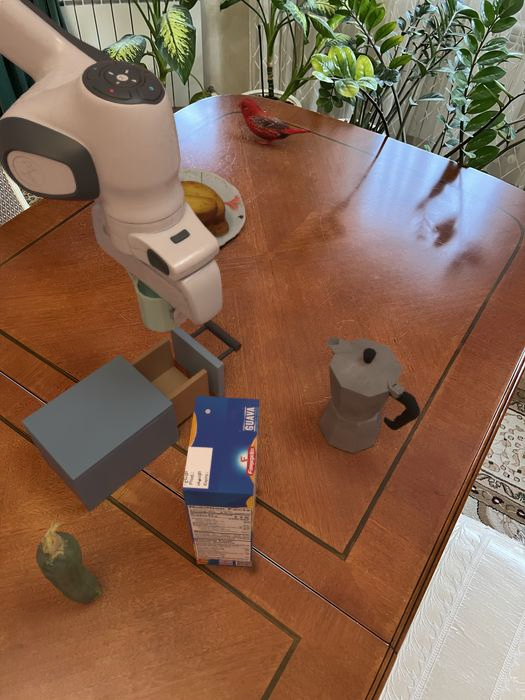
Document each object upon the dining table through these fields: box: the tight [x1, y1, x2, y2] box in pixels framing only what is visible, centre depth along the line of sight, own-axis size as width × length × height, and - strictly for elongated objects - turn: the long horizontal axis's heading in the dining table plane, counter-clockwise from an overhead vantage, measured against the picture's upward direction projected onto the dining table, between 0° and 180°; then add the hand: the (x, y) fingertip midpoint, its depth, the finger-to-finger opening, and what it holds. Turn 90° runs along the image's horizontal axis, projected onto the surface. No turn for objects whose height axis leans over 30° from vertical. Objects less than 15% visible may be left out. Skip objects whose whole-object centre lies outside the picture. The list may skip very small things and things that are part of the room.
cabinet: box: [21, 354, 180, 512], centre depth 78 cm, size 16×12×10 cm
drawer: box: [128, 319, 243, 427], centre depth 84 cm, size 20×10×8 cm, turn 136°
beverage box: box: [181, 395, 260, 568], centre depth 67 cm, size 7×11×22 cm, turn 177°
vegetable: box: [35, 520, 102, 605], centre depth 62 cm, size 4×4×20 cm
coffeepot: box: [318, 336, 421, 454], centre depth 78 cm, size 15×9×18 cm, turn 43°
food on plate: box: [178, 167, 247, 247], centre depth 112 cm, size 25×25×7 cm
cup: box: [133, 278, 183, 333], centre depth 74 cm, size 6×6×6 cm
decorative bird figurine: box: [236, 97, 312, 147], centre depth 127 cm, size 3×18×10 cm, turn 67°
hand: (161, 304), depth 74 cm, fingers closed on cup, 6 cm apart
